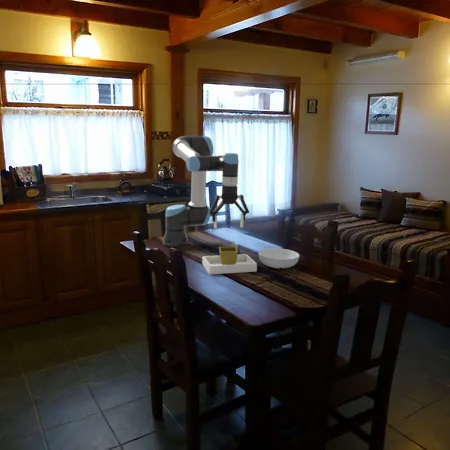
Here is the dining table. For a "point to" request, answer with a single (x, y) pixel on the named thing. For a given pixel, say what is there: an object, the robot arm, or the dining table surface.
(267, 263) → the serving bowl
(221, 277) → the dining table surface
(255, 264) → the tray
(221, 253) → the flower pot
